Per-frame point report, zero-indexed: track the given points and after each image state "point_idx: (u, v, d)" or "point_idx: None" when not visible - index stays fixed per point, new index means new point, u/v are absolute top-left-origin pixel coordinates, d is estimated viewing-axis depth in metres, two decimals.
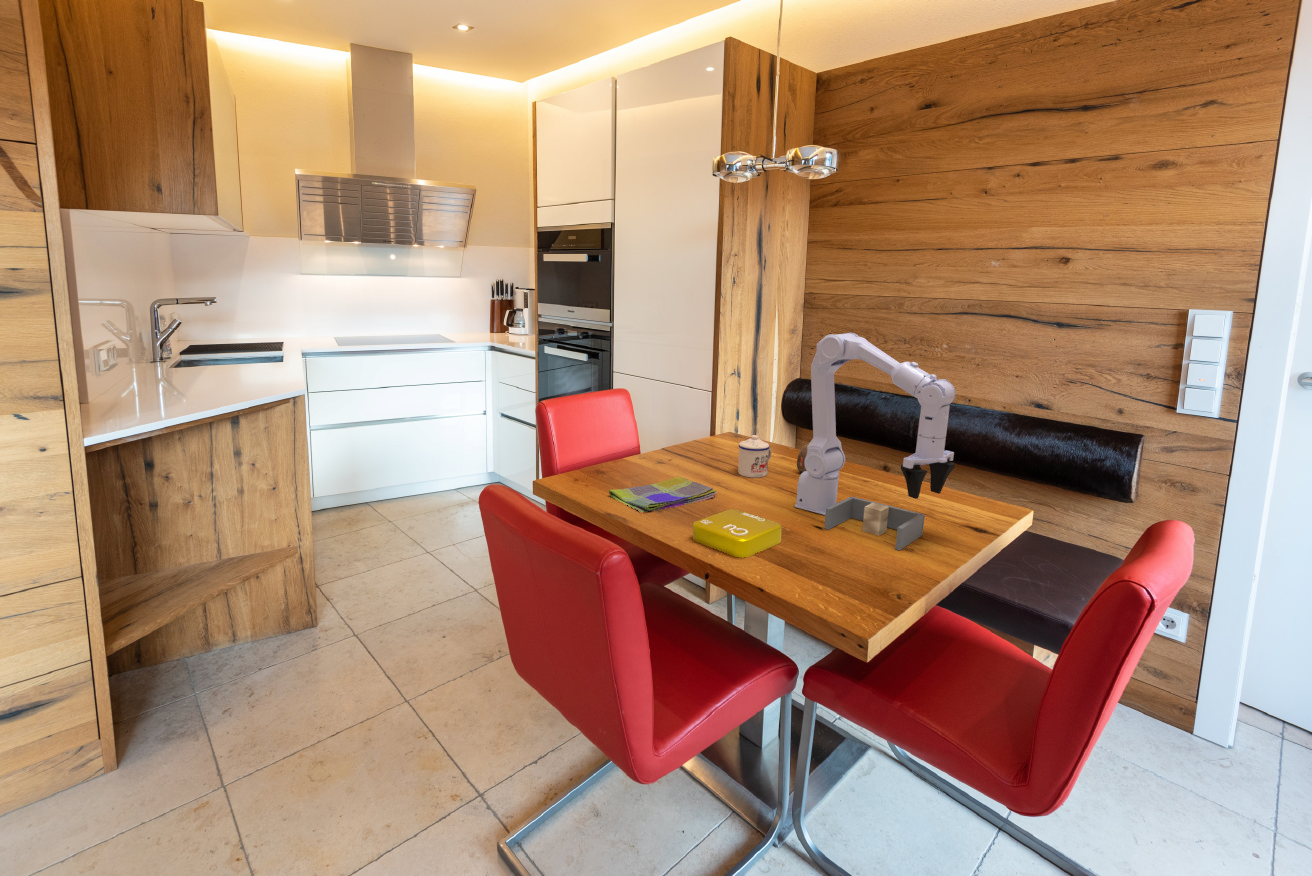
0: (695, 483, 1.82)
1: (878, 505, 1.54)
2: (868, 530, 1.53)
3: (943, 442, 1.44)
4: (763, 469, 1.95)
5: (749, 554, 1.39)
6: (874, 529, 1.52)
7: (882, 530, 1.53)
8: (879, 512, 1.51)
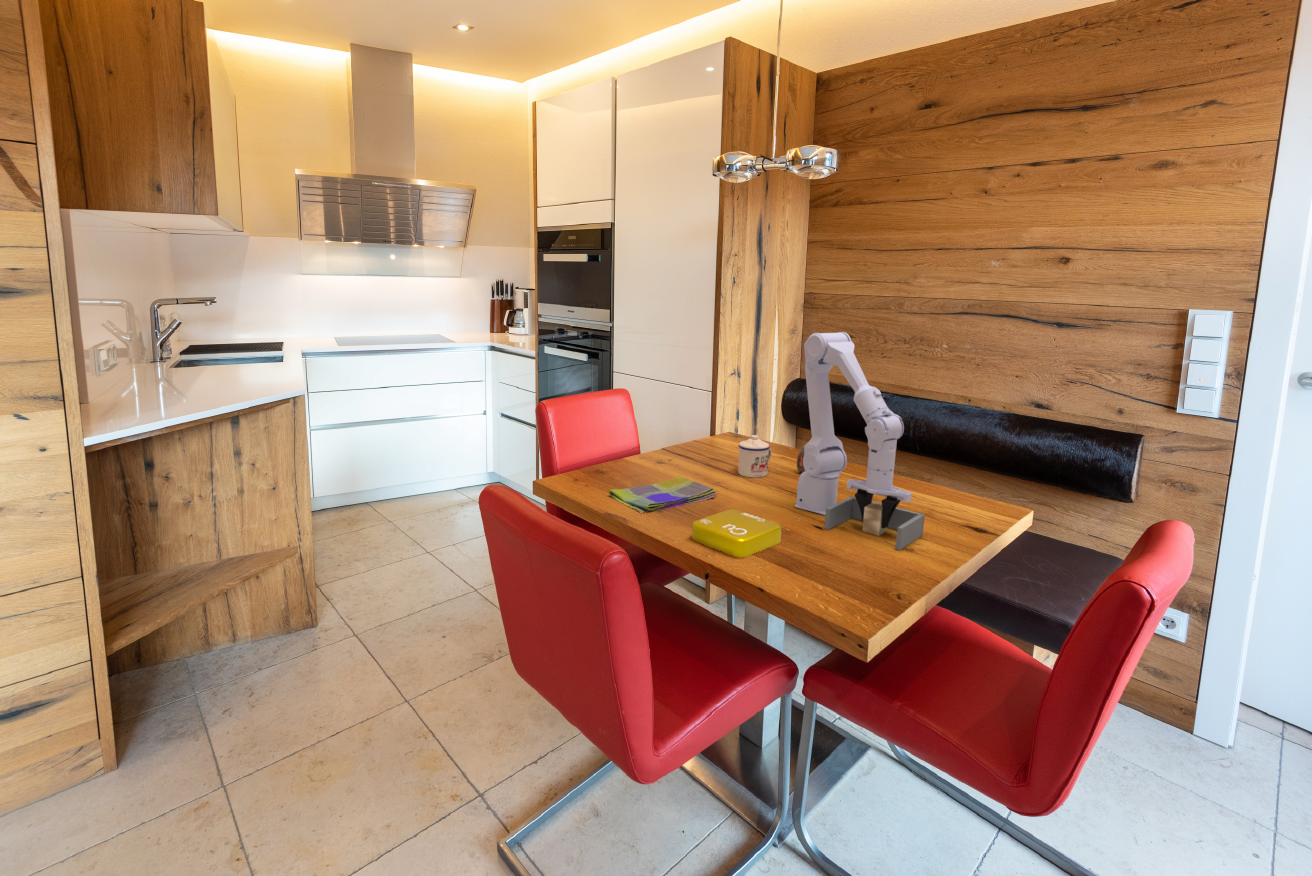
0: (695, 483, 1.82)
1: (878, 505, 1.54)
2: (868, 530, 1.53)
3: (876, 474, 1.49)
4: (763, 469, 1.95)
5: (748, 554, 1.39)
6: (874, 529, 1.52)
7: (882, 530, 1.53)
8: (879, 512, 1.51)
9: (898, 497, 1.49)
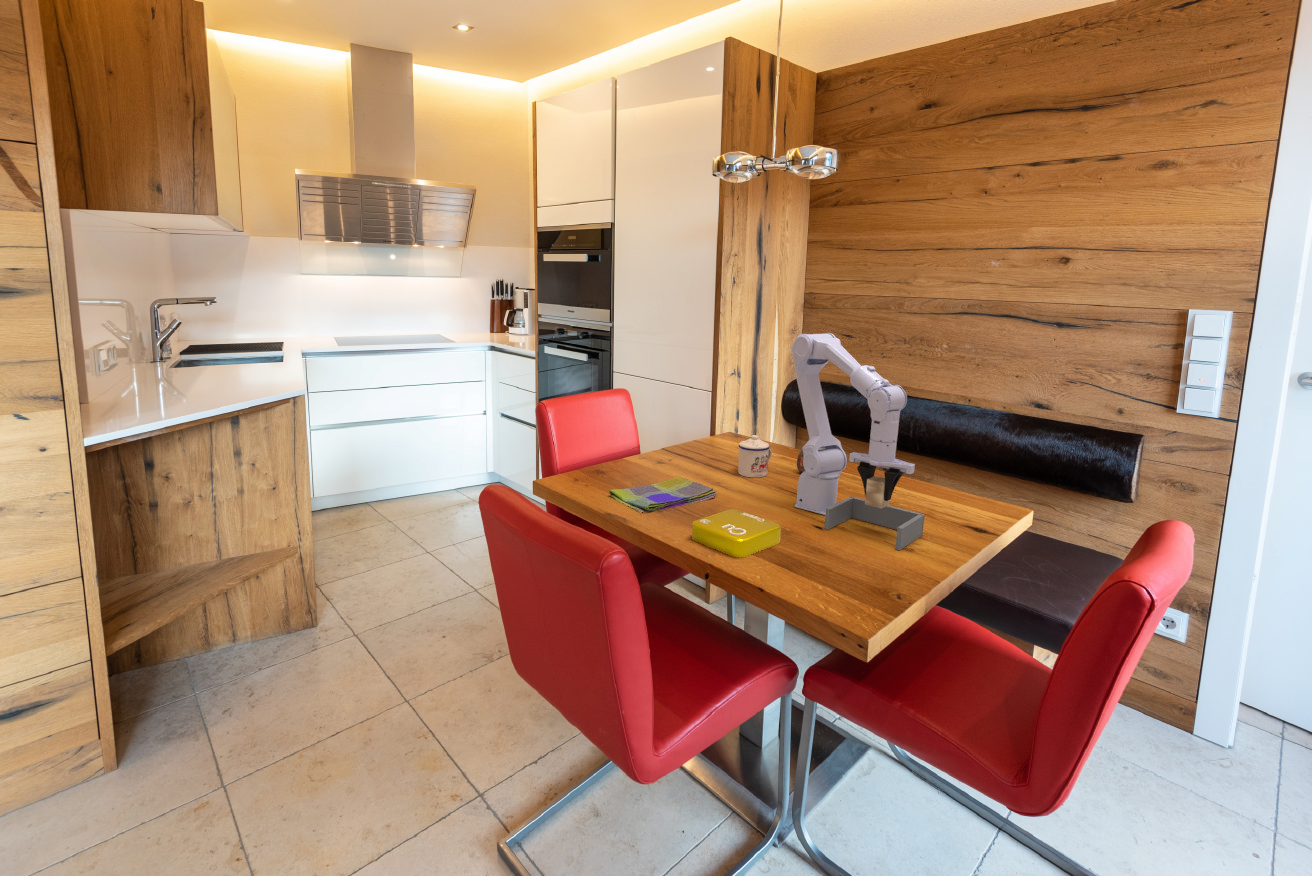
0: (695, 483, 1.81)
1: (881, 478, 1.52)
2: (871, 503, 1.52)
3: (879, 446, 1.47)
4: (763, 469, 1.95)
5: (747, 554, 1.39)
6: (877, 501, 1.51)
7: (885, 503, 1.51)
8: (882, 484, 1.49)
9: (901, 469, 1.47)
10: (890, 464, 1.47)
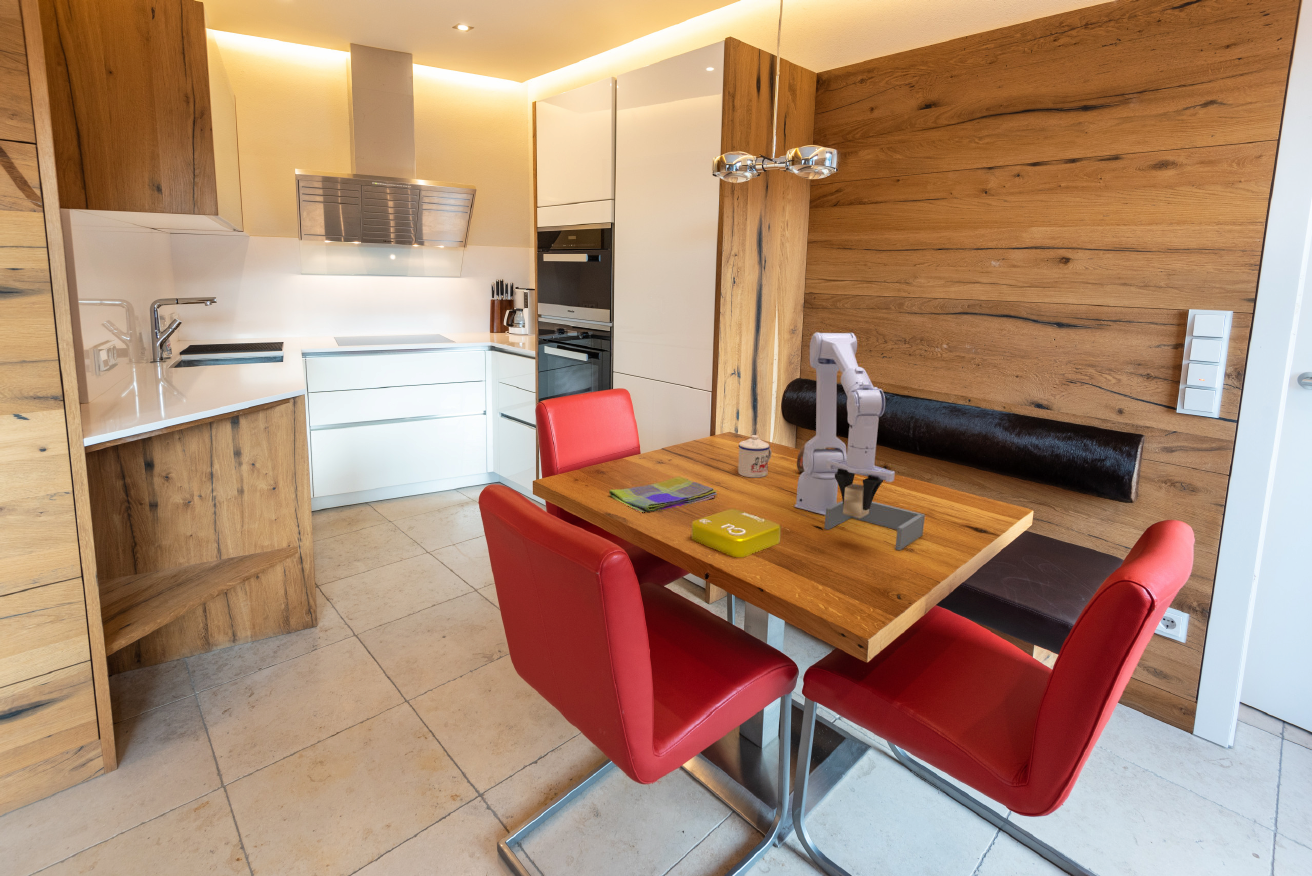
0: (696, 483, 1.81)
1: (860, 486, 1.45)
2: (849, 512, 1.44)
3: (857, 452, 1.40)
4: (763, 469, 1.95)
5: (746, 554, 1.39)
6: (855, 511, 1.43)
7: (864, 512, 1.43)
8: (861, 493, 1.41)
9: (880, 476, 1.40)
10: (869, 471, 1.39)
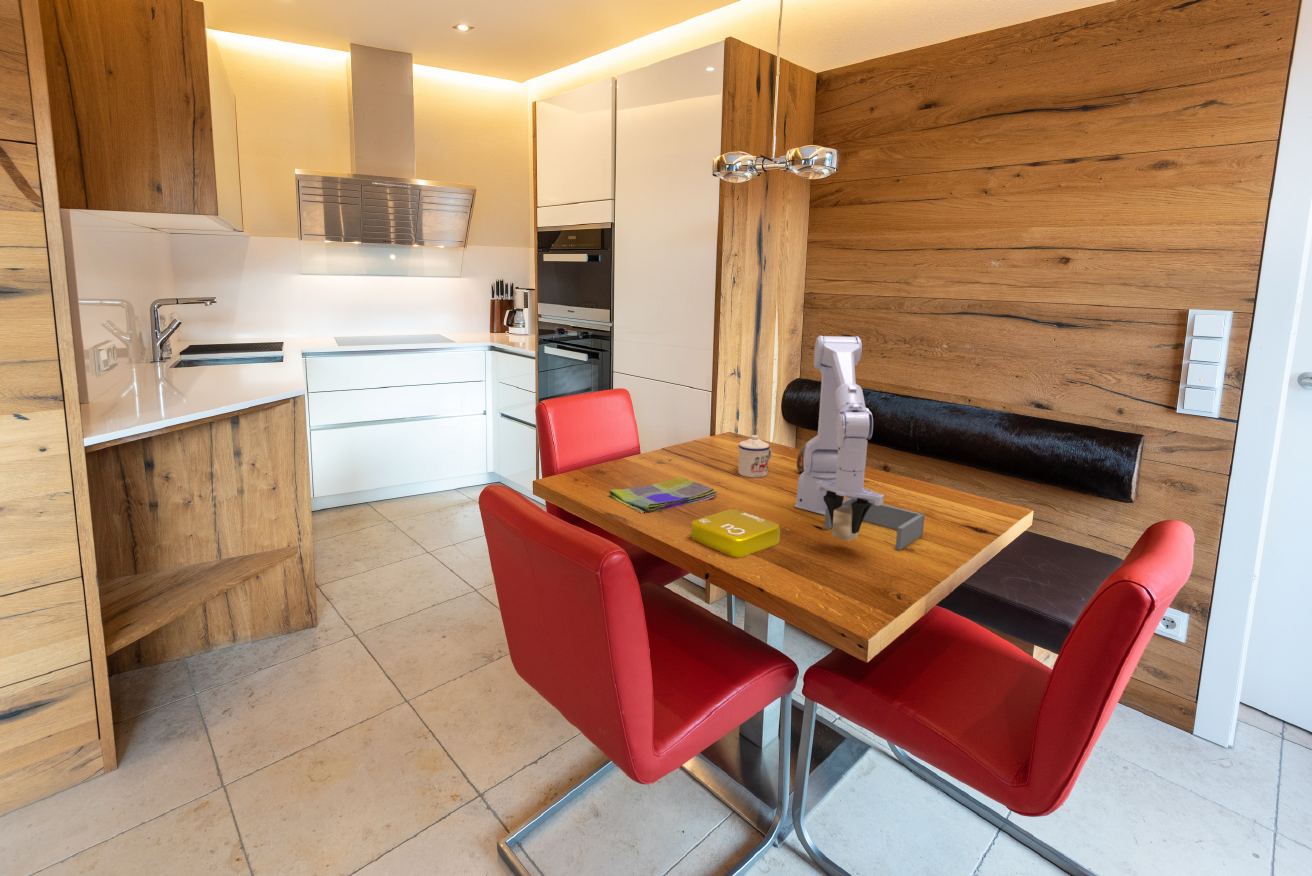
0: (696, 483, 1.81)
1: (849, 508, 1.43)
2: (838, 535, 1.42)
3: (845, 475, 1.37)
4: (763, 469, 1.95)
5: (745, 554, 1.39)
6: (844, 534, 1.41)
7: (853, 535, 1.41)
8: (849, 516, 1.39)
9: (869, 500, 1.37)
10: (857, 495, 1.37)
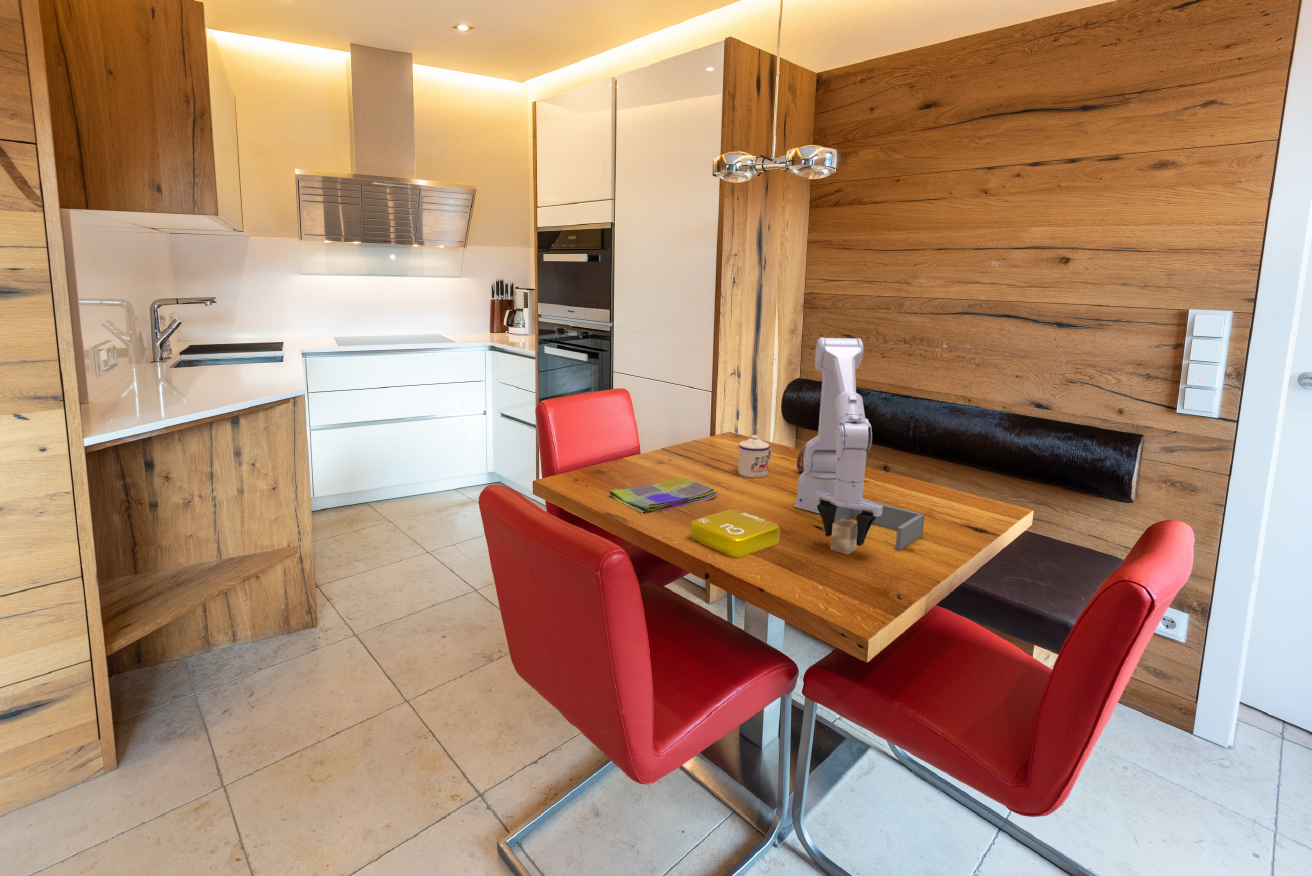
0: (696, 483, 1.81)
1: (847, 521, 1.43)
2: (837, 548, 1.43)
3: (844, 486, 1.38)
4: (763, 469, 1.95)
5: (744, 554, 1.39)
6: (843, 547, 1.41)
7: (851, 548, 1.42)
8: (848, 529, 1.40)
9: (868, 511, 1.38)
10: (856, 506, 1.38)
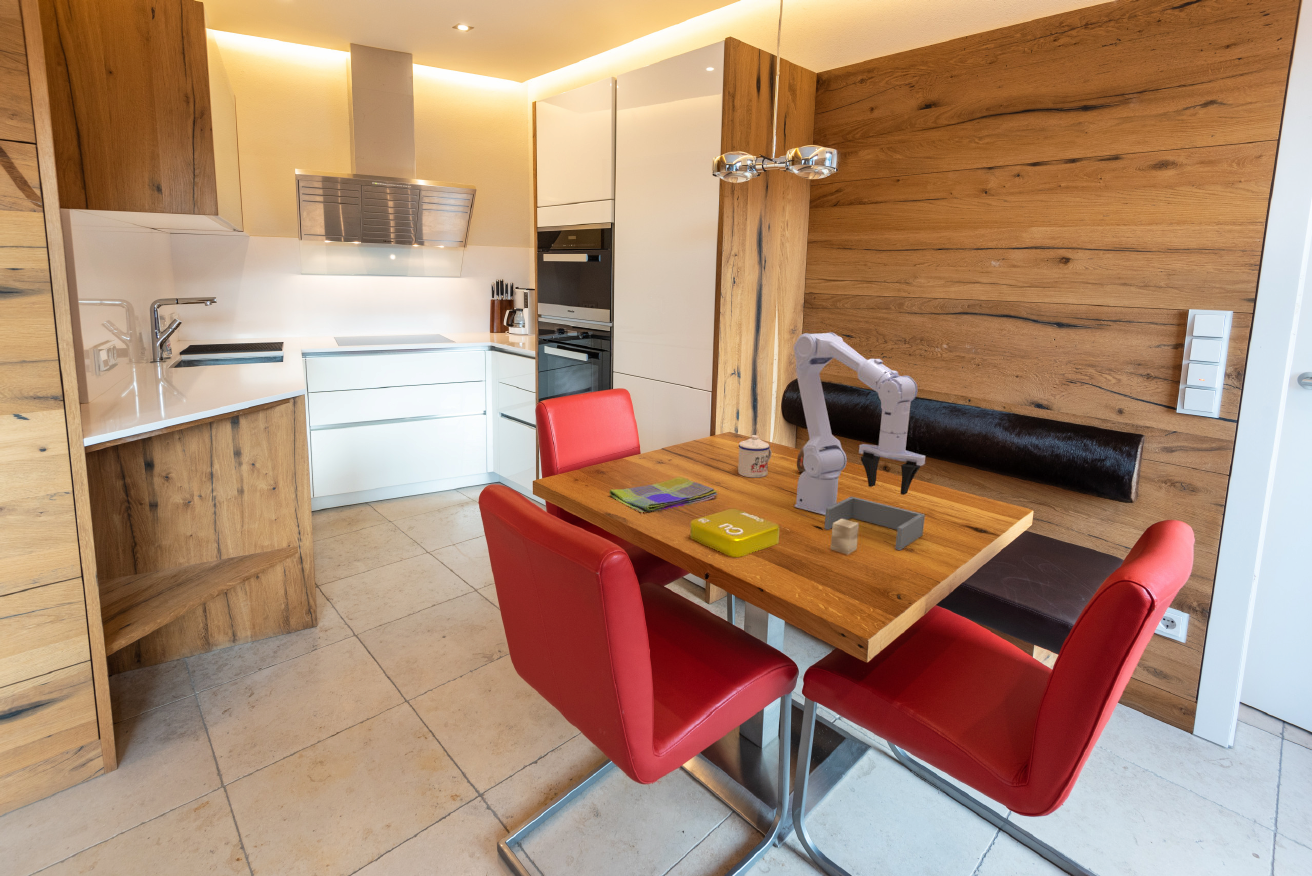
0: (696, 484, 1.81)
1: (847, 521, 1.43)
2: (837, 548, 1.43)
3: (889, 437, 1.46)
4: (763, 469, 1.95)
5: (743, 554, 1.39)
6: (843, 547, 1.41)
7: (851, 548, 1.42)
8: (848, 529, 1.40)
9: (911, 460, 1.46)
10: (900, 456, 1.46)
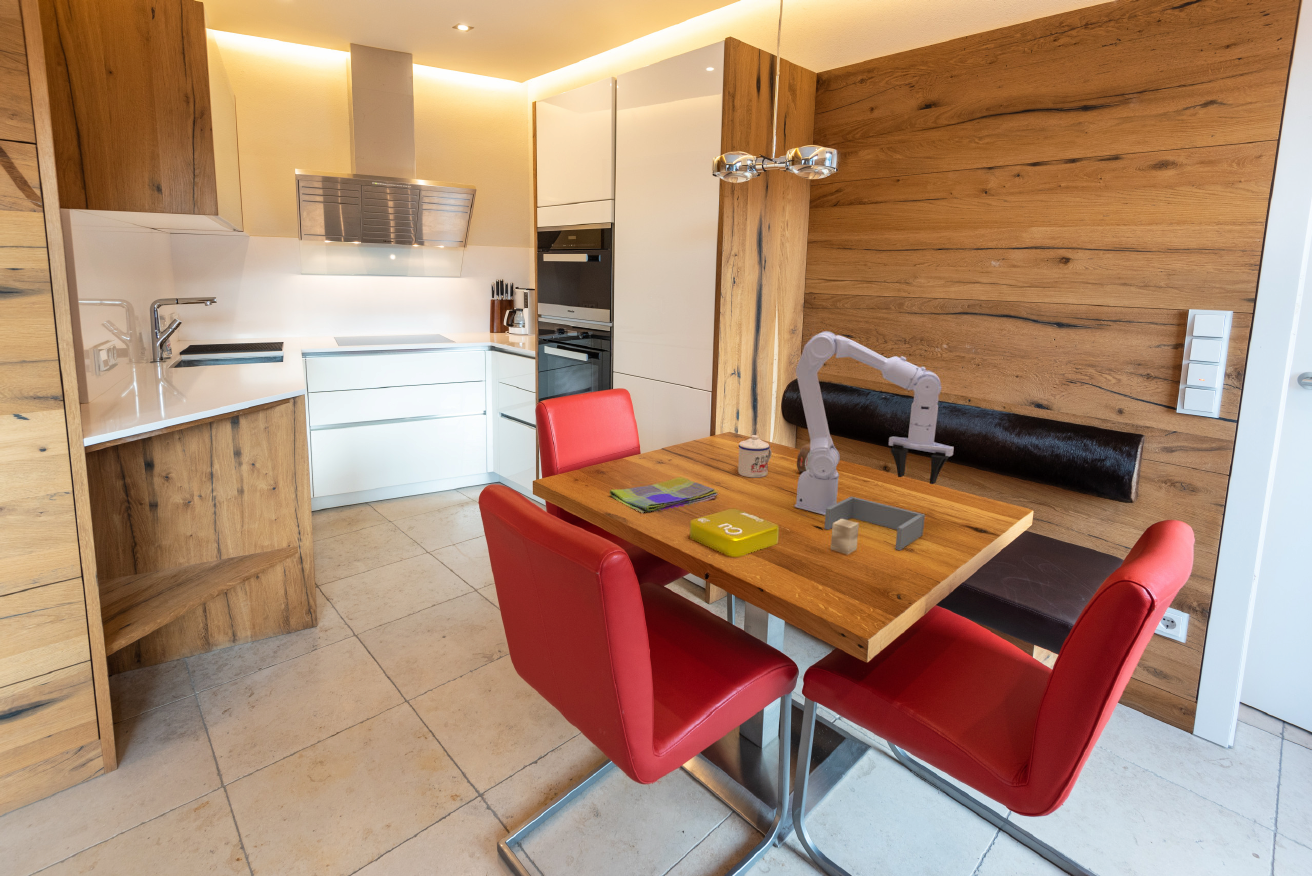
0: (697, 484, 1.81)
1: (847, 521, 1.43)
2: (837, 548, 1.43)
3: (919, 429, 1.54)
4: (763, 469, 1.95)
5: (742, 554, 1.39)
6: (843, 547, 1.41)
7: (851, 548, 1.42)
8: (848, 529, 1.40)
9: (940, 451, 1.54)
10: (930, 447, 1.54)
